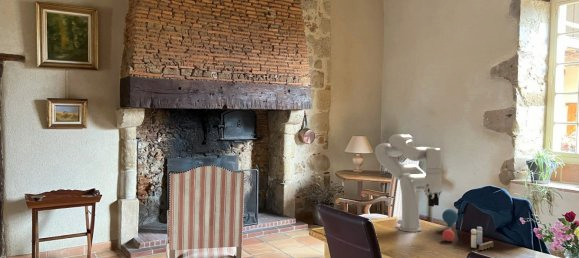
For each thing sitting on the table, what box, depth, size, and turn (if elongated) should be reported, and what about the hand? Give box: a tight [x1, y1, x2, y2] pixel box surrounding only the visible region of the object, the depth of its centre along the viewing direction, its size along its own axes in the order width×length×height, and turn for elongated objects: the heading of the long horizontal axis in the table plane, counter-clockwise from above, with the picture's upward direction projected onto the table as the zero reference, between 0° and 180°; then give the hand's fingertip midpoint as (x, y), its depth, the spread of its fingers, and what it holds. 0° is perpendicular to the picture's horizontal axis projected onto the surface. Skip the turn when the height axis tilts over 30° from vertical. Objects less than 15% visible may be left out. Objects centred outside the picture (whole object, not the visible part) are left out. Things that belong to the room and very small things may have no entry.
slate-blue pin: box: [476, 226, 483, 246], centre depth 224 cm, size 2×2×8 cm
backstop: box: [478, 240, 494, 251], centre depth 217 cm, size 1×11×2 cm, turn 127°
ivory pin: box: [470, 228, 477, 249], centre depth 219 cm, size 2×2×8 cm
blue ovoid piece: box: [441, 208, 459, 231], centre depth 254 cm, size 8×8×12 cm
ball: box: [441, 228, 456, 242], centre depth 231 cm, size 6×6×6 cm
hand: (433, 205), depth 238 cm, fingers open, 3 cm apart
